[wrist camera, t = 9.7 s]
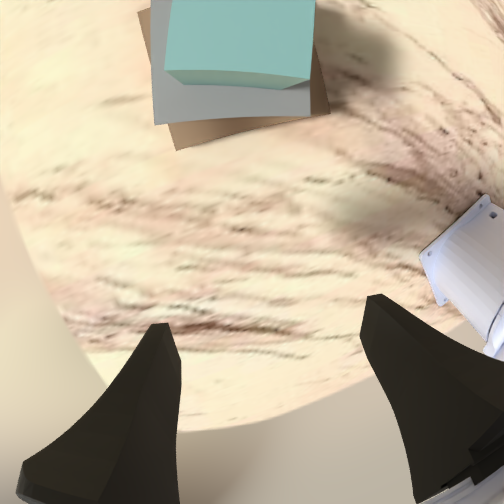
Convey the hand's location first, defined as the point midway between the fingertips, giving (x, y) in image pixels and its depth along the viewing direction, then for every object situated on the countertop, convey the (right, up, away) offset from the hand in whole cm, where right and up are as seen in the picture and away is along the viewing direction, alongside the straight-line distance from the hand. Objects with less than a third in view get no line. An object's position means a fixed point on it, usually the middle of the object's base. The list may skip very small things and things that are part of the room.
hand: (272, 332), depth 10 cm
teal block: (-1, +13, +1) cm, 13 cm away
